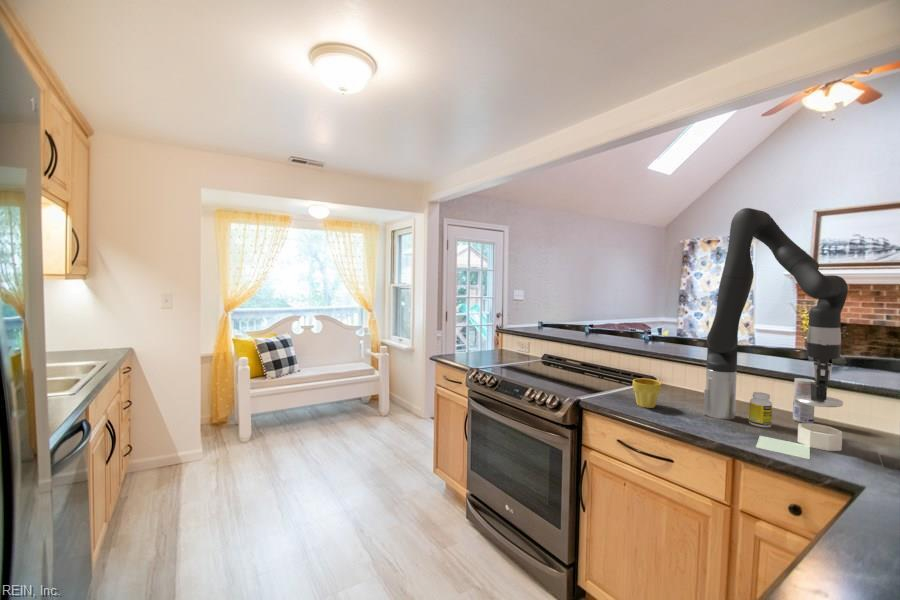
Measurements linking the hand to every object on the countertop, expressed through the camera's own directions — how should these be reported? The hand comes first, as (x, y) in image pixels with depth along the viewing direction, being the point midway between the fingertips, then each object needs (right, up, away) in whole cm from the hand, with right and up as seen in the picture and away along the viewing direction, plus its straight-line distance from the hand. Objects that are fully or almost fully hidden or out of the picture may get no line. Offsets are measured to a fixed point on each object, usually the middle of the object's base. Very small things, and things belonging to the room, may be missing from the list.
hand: (821, 398), depth 122 cm
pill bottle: (-5, -14, +17) cm, 23 cm away
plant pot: (-34, -13, +39) cm, 53 cm away
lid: (-1, -1, +1) cm, 2 cm away
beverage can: (+13, -14, +21) cm, 28 cm away
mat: (-13, -15, -1) cm, 19 cm away
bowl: (0, -15, +1) cm, 15 cm away
